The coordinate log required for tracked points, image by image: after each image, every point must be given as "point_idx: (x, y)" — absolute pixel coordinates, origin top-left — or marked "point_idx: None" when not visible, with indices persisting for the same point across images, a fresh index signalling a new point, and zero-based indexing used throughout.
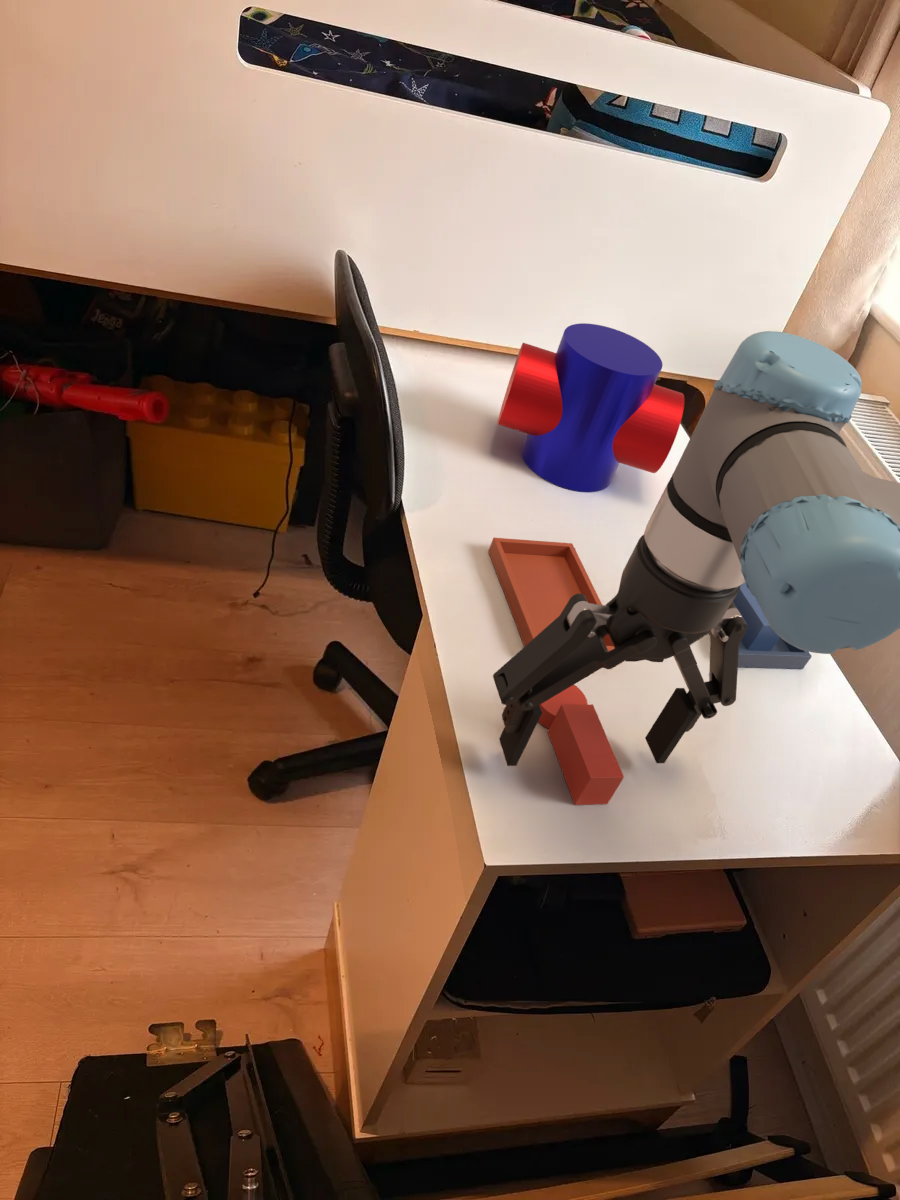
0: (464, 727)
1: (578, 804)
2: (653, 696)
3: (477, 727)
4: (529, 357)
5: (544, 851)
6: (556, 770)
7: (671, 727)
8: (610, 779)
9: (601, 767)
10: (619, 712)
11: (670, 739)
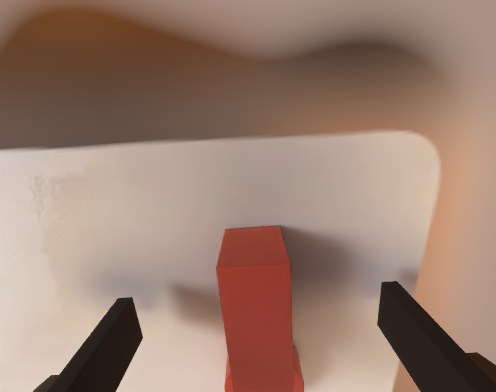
0: None
1: (274, 226)
2: None
3: (382, 333)
4: None
5: (356, 144)
6: None
7: (87, 386)
8: (244, 262)
9: (258, 286)
10: (168, 363)
11: (96, 354)
